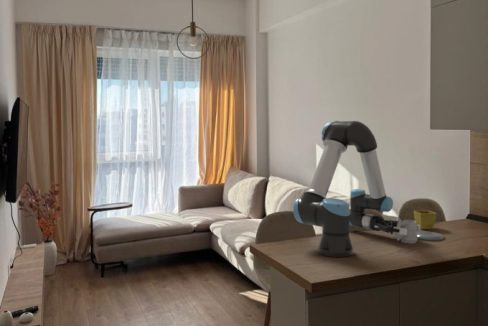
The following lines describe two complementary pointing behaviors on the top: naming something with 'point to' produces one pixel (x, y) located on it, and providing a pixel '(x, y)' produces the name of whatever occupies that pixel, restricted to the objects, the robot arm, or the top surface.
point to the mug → (411, 231)
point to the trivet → (429, 236)
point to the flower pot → (425, 219)
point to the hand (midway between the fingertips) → (413, 230)
